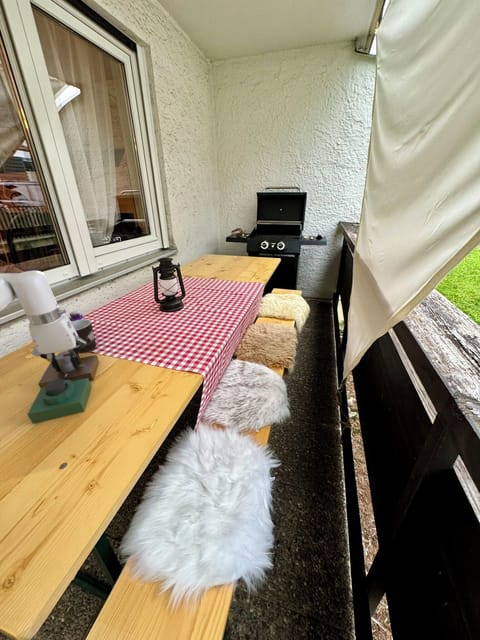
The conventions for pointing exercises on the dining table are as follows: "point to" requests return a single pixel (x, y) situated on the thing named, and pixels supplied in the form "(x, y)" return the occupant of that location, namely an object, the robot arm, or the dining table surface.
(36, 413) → the green flat block
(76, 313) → the potion bottle
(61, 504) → the dining table surface
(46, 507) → the dining table surface
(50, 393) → the dark grey short cylinder
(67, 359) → the dial
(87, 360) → the dial panel
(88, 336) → the coffee mug
